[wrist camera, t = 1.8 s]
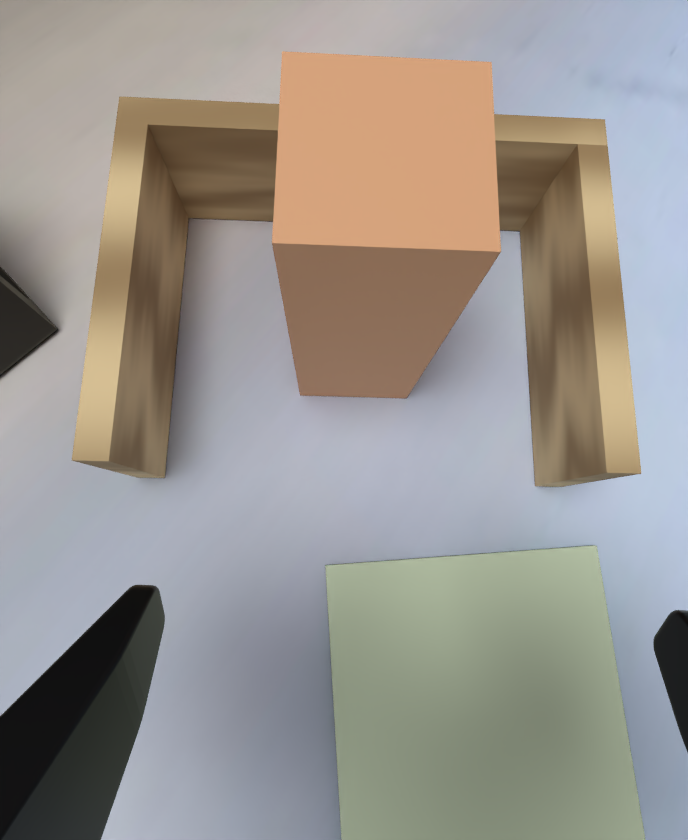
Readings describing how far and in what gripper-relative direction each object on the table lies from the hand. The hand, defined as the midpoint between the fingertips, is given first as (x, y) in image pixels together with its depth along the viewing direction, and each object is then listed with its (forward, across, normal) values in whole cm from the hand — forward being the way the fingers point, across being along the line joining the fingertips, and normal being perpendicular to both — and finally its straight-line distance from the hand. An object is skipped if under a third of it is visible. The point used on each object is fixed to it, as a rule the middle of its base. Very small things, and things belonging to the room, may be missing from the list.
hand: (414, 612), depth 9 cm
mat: (+6, -5, +14) cm, 16 cm away
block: (+17, +1, +3) cm, 17 cm away
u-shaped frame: (+17, +1, +3) cm, 17 cm away
